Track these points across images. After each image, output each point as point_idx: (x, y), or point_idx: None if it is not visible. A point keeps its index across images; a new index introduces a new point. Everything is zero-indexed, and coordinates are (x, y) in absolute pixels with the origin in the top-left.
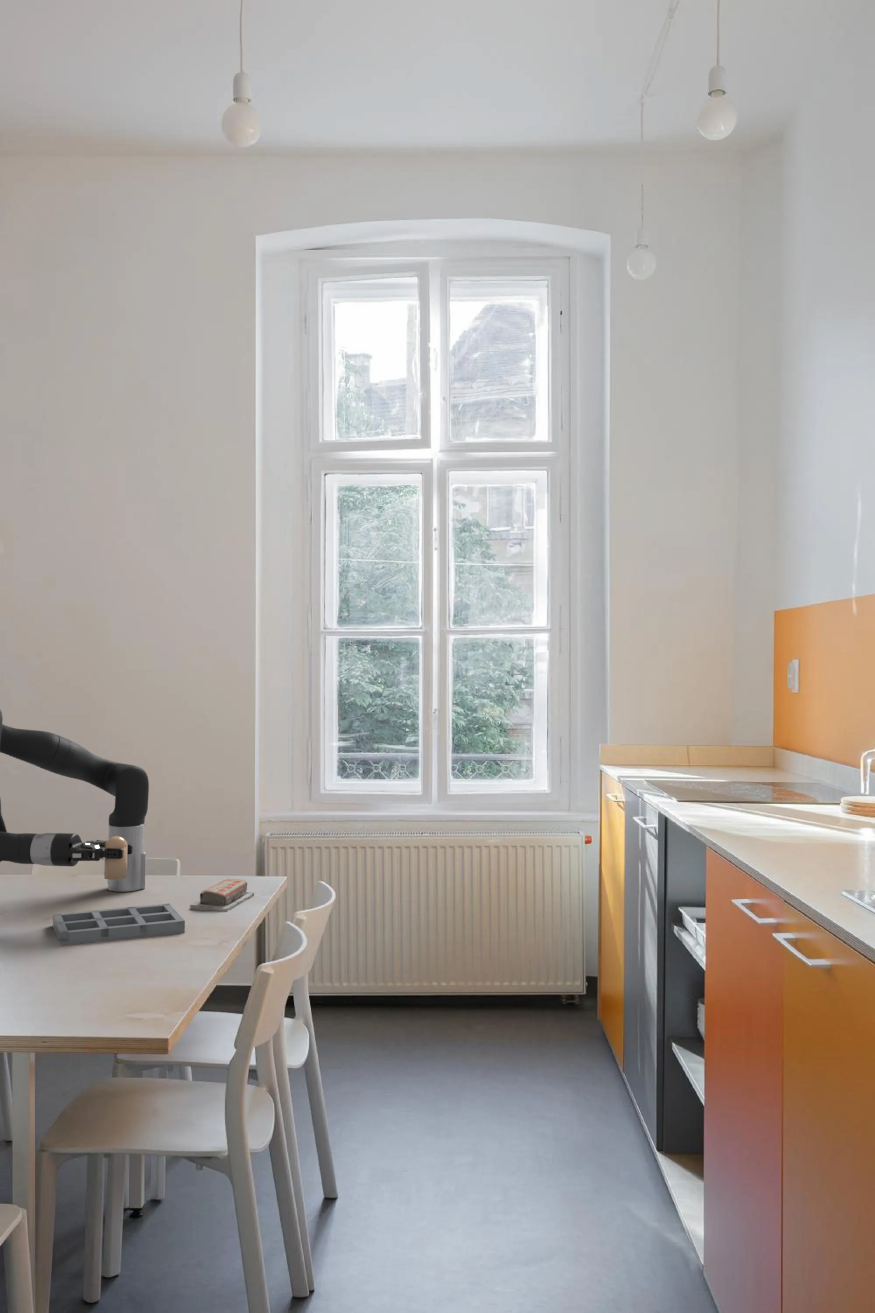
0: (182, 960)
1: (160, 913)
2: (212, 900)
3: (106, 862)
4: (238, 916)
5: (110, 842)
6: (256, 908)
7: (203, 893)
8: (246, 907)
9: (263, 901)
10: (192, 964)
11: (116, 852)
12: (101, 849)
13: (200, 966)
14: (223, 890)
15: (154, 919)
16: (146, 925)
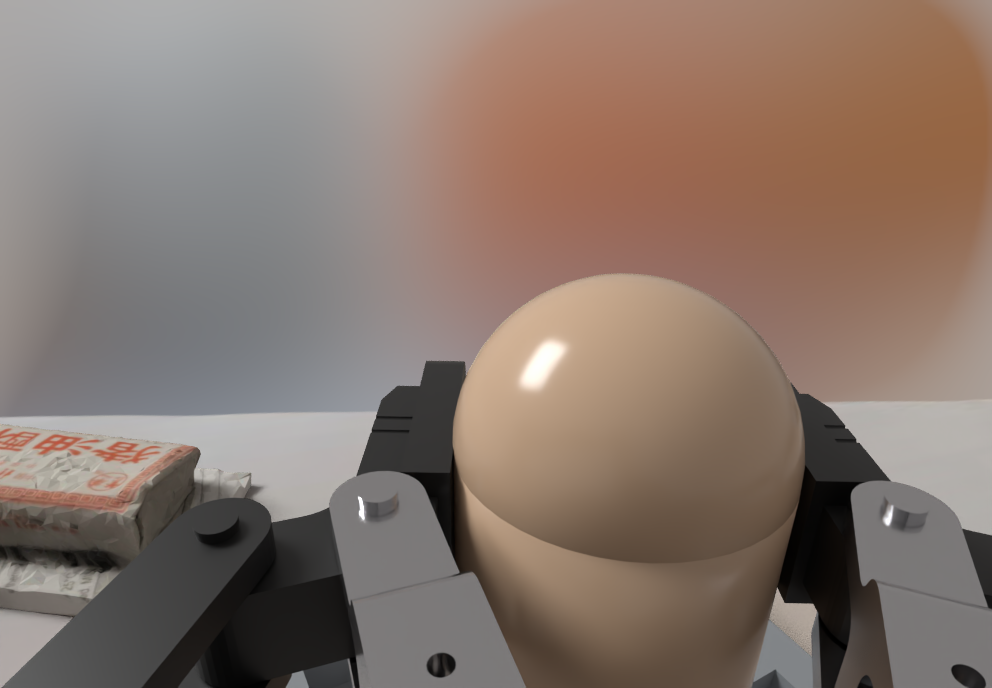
0: (969, 474)
1: None
2: (168, 505)
3: (751, 676)
4: (346, 445)
5: (786, 381)
6: (223, 422)
7: (142, 507)
8: (194, 446)
9: (104, 420)
10: (981, 447)
11: (825, 419)
12: (958, 529)
13: (980, 430)
14: (121, 447)
15: None
16: (772, 627)
